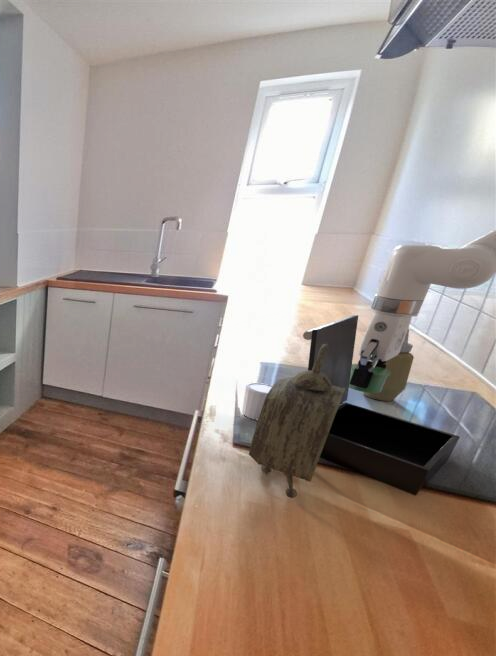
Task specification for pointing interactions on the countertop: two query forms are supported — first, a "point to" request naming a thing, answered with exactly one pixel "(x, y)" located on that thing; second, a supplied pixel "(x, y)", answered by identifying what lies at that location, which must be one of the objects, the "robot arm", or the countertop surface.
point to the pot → (372, 380)
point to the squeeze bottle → (396, 373)
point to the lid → (334, 350)
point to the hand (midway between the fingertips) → (365, 381)
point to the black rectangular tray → (387, 447)
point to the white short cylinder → (254, 399)
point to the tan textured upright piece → (296, 423)
